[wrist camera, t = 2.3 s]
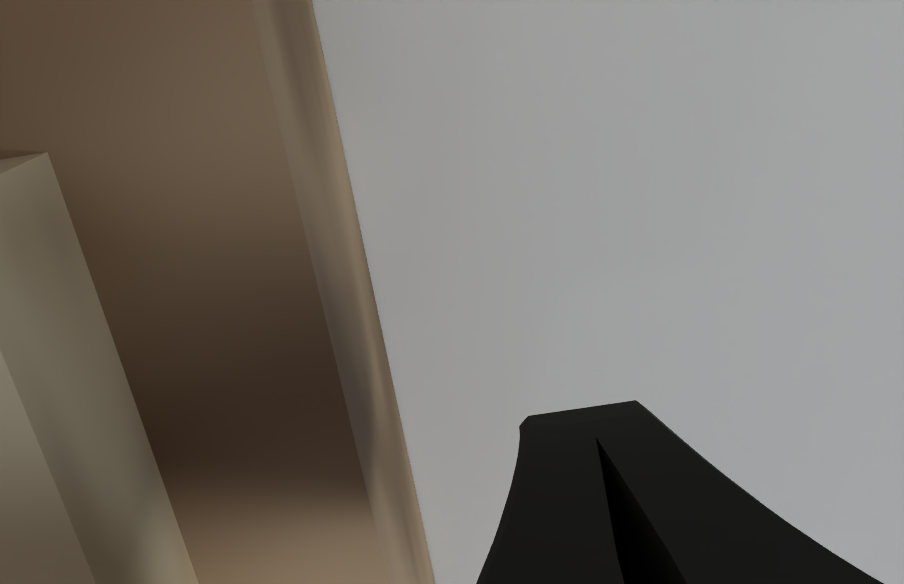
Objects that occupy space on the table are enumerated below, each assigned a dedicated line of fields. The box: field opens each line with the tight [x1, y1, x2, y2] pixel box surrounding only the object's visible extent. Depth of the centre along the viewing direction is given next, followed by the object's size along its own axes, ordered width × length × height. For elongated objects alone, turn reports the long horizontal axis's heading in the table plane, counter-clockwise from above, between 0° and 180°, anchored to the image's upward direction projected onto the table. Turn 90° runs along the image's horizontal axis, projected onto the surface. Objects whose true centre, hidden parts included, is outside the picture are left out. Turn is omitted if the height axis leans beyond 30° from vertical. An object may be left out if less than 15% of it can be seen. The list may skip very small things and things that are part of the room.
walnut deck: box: [0, 0, 435, 584], centre depth 12 cm, size 14×10×4 cm
